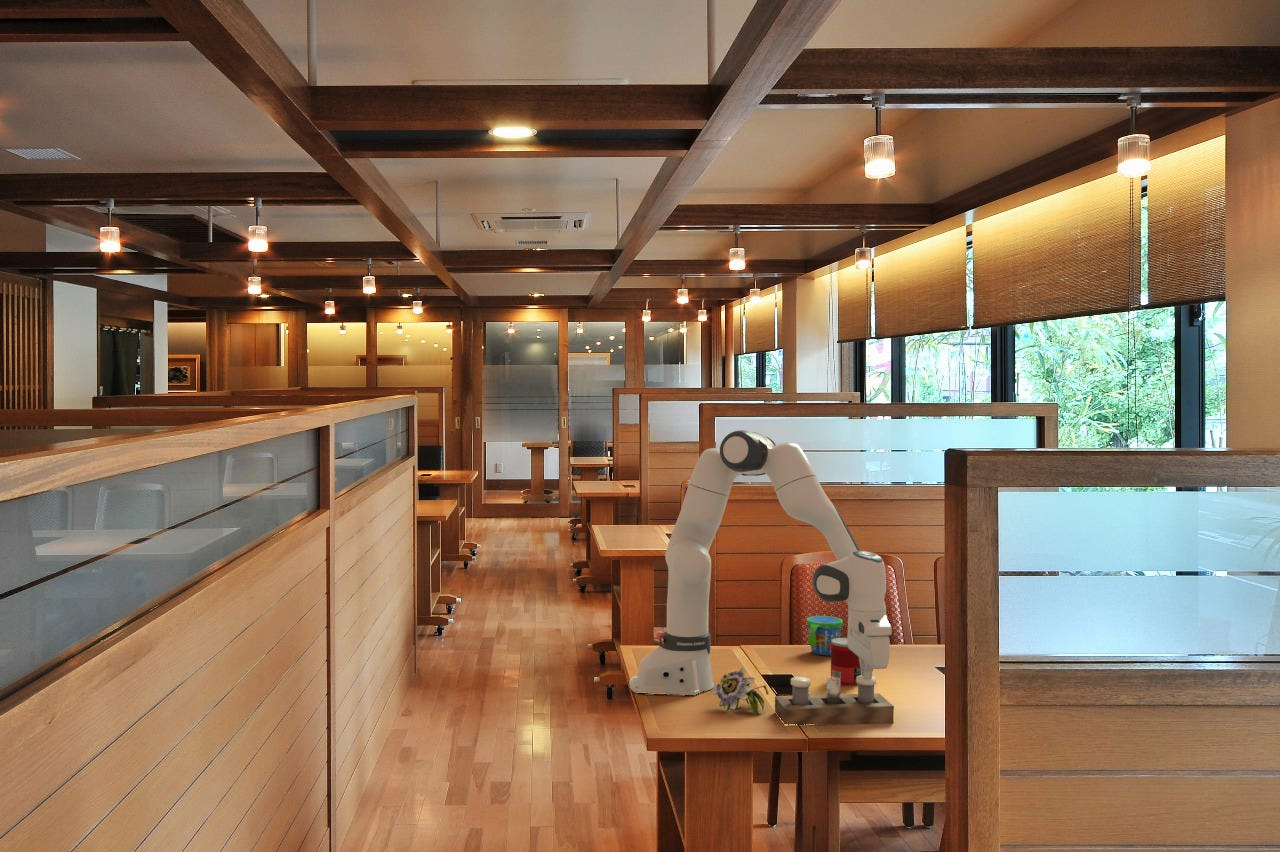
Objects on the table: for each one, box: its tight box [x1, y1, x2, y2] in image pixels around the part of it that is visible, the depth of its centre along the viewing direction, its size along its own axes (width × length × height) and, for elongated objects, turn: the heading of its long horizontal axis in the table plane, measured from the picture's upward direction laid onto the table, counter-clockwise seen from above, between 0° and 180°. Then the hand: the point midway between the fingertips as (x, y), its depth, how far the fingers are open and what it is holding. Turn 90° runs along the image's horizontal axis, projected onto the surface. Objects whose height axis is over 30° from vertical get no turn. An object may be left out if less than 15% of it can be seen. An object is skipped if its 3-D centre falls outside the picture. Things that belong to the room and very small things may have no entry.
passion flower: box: [711, 667, 770, 714], centre depth 243 cm, size 11×11×12 cm
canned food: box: [830, 637, 861, 686], centre depth 266 cm, size 8×8×11 cm
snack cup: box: [805, 615, 844, 656], centre depth 296 cm, size 16×10×10 cm
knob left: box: [790, 676, 811, 706], centre depth 235 cm, size 5×5×9 cm
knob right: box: [856, 675, 877, 704], centre depth 237 cm, size 5×5×9 cm
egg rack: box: [774, 692, 895, 726], centre depth 236 cm, size 26×10×4 cm, turn 95°
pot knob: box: [826, 675, 841, 705], centre depth 236 cm, size 3×3×6 cm
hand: (866, 677), depth 237 cm, fingers closed, pressing on knob right
